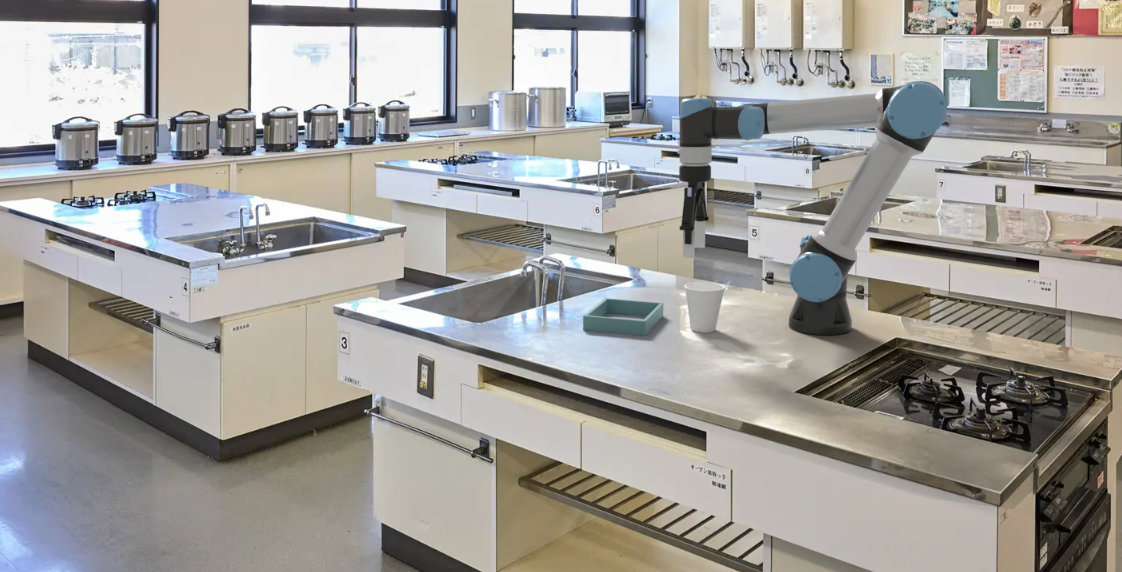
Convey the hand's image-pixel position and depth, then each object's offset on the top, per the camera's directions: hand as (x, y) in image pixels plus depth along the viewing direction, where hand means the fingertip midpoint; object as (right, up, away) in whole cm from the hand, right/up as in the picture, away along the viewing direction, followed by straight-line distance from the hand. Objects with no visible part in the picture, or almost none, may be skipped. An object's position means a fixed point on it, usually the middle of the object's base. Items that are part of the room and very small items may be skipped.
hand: (694, 252), depth 240 cm
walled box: (-16, -17, +10) cm, 26 cm away
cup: (+3, -19, +4) cm, 20 cm away
